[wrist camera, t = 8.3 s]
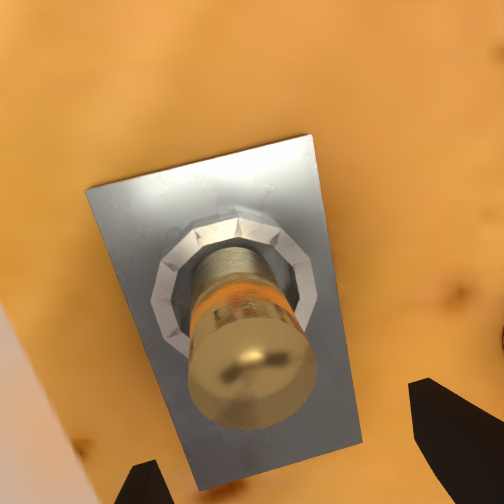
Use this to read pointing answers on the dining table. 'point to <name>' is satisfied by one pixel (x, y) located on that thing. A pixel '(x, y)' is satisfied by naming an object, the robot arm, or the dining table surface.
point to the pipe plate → (180, 281)
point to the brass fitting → (245, 344)
